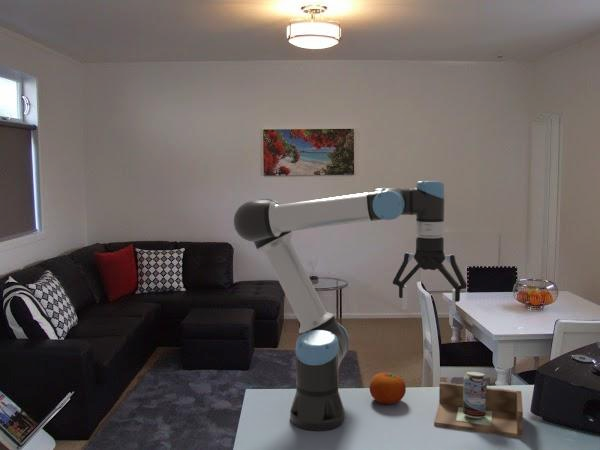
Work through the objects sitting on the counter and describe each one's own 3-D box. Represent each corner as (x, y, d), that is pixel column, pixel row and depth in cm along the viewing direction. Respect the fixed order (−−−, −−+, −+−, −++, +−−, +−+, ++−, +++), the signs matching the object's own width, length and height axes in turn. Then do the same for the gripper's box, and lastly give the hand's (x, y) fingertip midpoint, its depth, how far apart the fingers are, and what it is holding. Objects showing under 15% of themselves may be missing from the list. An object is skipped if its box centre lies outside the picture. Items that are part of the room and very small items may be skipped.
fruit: (365, 405, 164) (365, 379, 163) (373, 392, 173) (373, 367, 172) (401, 410, 160) (402, 383, 159) (408, 397, 169) (408, 371, 169)
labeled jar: (463, 420, 150) (464, 377, 149) (461, 409, 157) (462, 368, 156) (487, 422, 149) (489, 379, 148) (484, 411, 156) (485, 369, 155)
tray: (434, 425, 150) (434, 400, 150) (439, 405, 163) (440, 381, 163) (522, 438, 143) (522, 411, 142) (520, 415, 156) (521, 391, 155)
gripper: (382, 236, 156) (382, 310, 159) (476, 239, 148) (474, 317, 150) (387, 233, 164) (387, 304, 166) (477, 236, 155) (475, 311, 157)
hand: (428, 311), depth 158 cm, fingers open, 13 cm apart
